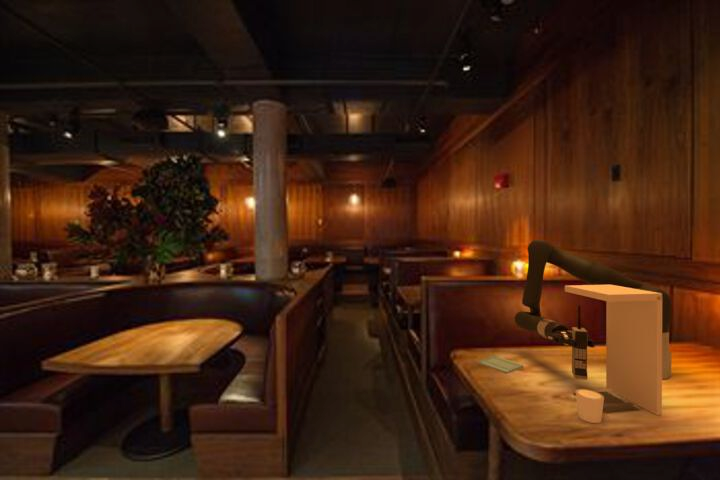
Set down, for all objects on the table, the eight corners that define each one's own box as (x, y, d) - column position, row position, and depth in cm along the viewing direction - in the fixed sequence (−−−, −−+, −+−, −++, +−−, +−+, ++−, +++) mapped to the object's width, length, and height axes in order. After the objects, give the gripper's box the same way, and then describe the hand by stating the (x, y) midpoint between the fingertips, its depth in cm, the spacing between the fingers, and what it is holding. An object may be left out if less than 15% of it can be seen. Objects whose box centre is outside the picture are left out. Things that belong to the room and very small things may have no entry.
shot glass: (570, 412, 101) (570, 389, 101) (591, 411, 102) (591, 388, 102) (587, 424, 94) (587, 400, 94) (610, 423, 95) (610, 399, 95)
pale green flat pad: (524, 368, 136) (524, 364, 136) (506, 375, 129) (506, 371, 129) (494, 358, 147) (494, 355, 147) (477, 364, 140) (477, 361, 140)
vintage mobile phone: (574, 378, 116) (575, 306, 115) (571, 373, 121) (572, 303, 120) (587, 380, 114) (587, 307, 114) (584, 374, 119) (584, 304, 118)
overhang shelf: (610, 387, 117) (610, 284, 117) (661, 414, 99) (662, 293, 99) (564, 390, 115) (564, 285, 115) (608, 418, 97) (608, 294, 97)
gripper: (535, 321, 131) (566, 334, 114) (569, 320, 132) (605, 333, 115) (535, 341, 131) (565, 356, 114) (569, 339, 132) (605, 355, 115)
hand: (585, 345), depth 115 cm, fingers closed on vintage mobile phone, 5 cm apart
